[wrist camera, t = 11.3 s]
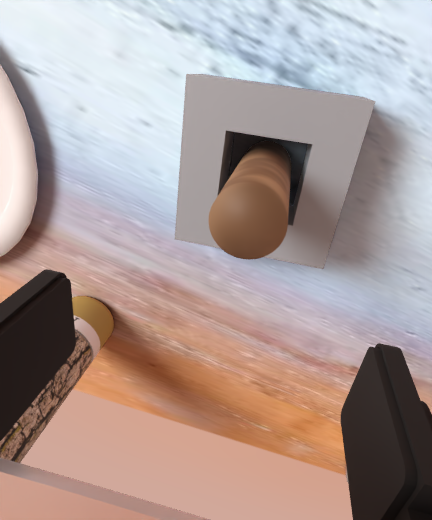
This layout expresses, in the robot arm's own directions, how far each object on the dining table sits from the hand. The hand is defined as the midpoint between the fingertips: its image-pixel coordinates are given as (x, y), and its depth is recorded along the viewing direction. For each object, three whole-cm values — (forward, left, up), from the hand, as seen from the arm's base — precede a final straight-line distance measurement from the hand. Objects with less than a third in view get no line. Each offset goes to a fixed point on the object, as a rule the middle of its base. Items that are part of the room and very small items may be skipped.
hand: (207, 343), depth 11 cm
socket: (0, 0, -24) cm, 24 cm away
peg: (0, 0, -24) cm, 24 cm away
